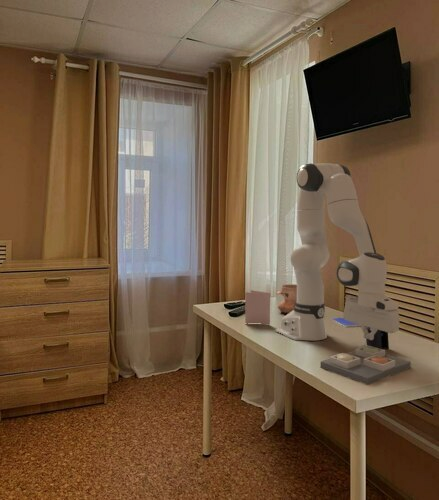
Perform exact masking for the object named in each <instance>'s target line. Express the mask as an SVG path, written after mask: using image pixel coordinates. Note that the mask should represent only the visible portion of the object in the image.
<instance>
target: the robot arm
mask: <svg viewBox="0 0 439 500" xmlns="http://www.w3.org/2000/svg"><path fill="white" fill-rule="evenodd" d="M296 183H297V186H298V188H299V189H298V194H297V207H296V213H297V214H296V215H297V216H296V221H297V223H296V225H297V226H296V229H297V231H298V234H299V236H300V241H301V245H298V246H297V247H296V248H295V249H294V250H292V252H291V254H290V263H291V265H292V267H293V270H294V276H295V280H296V285H297V302H296V303H292V304H294V305H292V306H294V309H293V311H291V312H290V313H289V314H286V315H284V316H283V317H282V319H281V323H280V326H277V327H276V328H275V332H276V333H278V332H279V334H280V333H281V334H280V335H282V334H283V336H285V337H287V338H289V339H292V340H295V341H321V340H322V341H323V340H325V339H327V338H328V335H327V331H326V325H325V316H324V315H325V311H326V309H325V307H326V306H325V304H326V303H324V302H325V284H324V282H323V279H322V272H321V268H323V267H324V266H325V265H326V264H327V263H328V261H329V260H330V255H331V254H330V250H329V247H328V240H327V236H326V226H325V225H326V224H325V222H326V220H325V219H326V217H325V216H326V215H325V208H326V207H327V214H328V218H329V219H330V221H331V223H332V224H334V226H336V227H338V228H340V229H341V230H344V231H346V232H348V233H349V234H350V235H351V236H352V237H353V239H354V240H355V244H356V247H357V251H358V254H359V256H357V257H355V258H352V259H346V260H342V261H341V262H340V263H339V264H338V265H337V268H336V278H337V280H338V282H339V283H340V284H341V285H342V286H346V287H357V288H358V291H357V296H354V295H351V294H350V295H348V296H347V297H345V305H344V309H343V315H342V318H344V319H345V320H346V321H350V322H353V323H357V324H360V325H361V326H360V329H361V331H362V333H363V339H365V340H366V339H369V340H373V339H374V334H375V333H376V332H377V329H378V330H381V331H385V332H388V334H395V333H397V332H398V331H399V329H400V313H399V312H398V309H399V302H397V301H396V300H394V299H392V298H391V297H389V296H387V295H386V287H385V286H386V283H387V273H388V272H387V271H388V269H387V266H388V265H387V261H386V257H384V255H381V254H380V253H377V251H376V248H375V244H374V241H373V236H372V233H371V230H370V227H369V224H368V222H367V220H366V218H364V215H363V214H362V211H361V208H360V205H359V200H358V199H359V198H358V194H357V191H356V187H355V184H354V181H353V178H352V177H351V171H350V169H349V168H348V167H347V166H345V165H342V164H340V163H336V164H335V163H330V162H329V163H328V162H327V163H326V162H324V163H323V162H322V163H311V162H310V163H306V164H303V165H301V166H300V167H299V168H298V171H297V173H296ZM325 199H326V207H325ZM368 327H370V330H371V333H368V330H367V328H368Z"/></svg>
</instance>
